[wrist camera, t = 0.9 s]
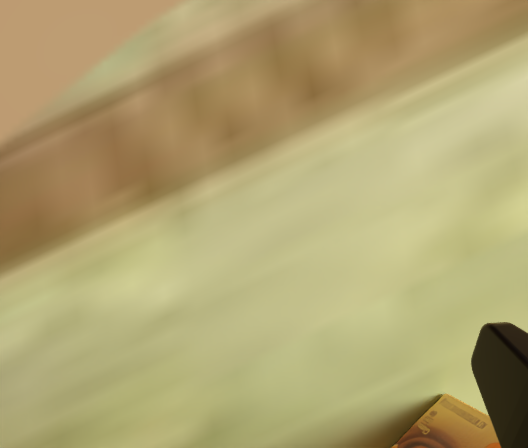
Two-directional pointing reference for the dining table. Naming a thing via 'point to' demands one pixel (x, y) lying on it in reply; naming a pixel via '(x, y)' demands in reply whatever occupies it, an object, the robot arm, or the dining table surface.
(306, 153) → the dining table surface
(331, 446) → the dining table surface
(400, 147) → the dining table surface
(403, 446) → the candy box
